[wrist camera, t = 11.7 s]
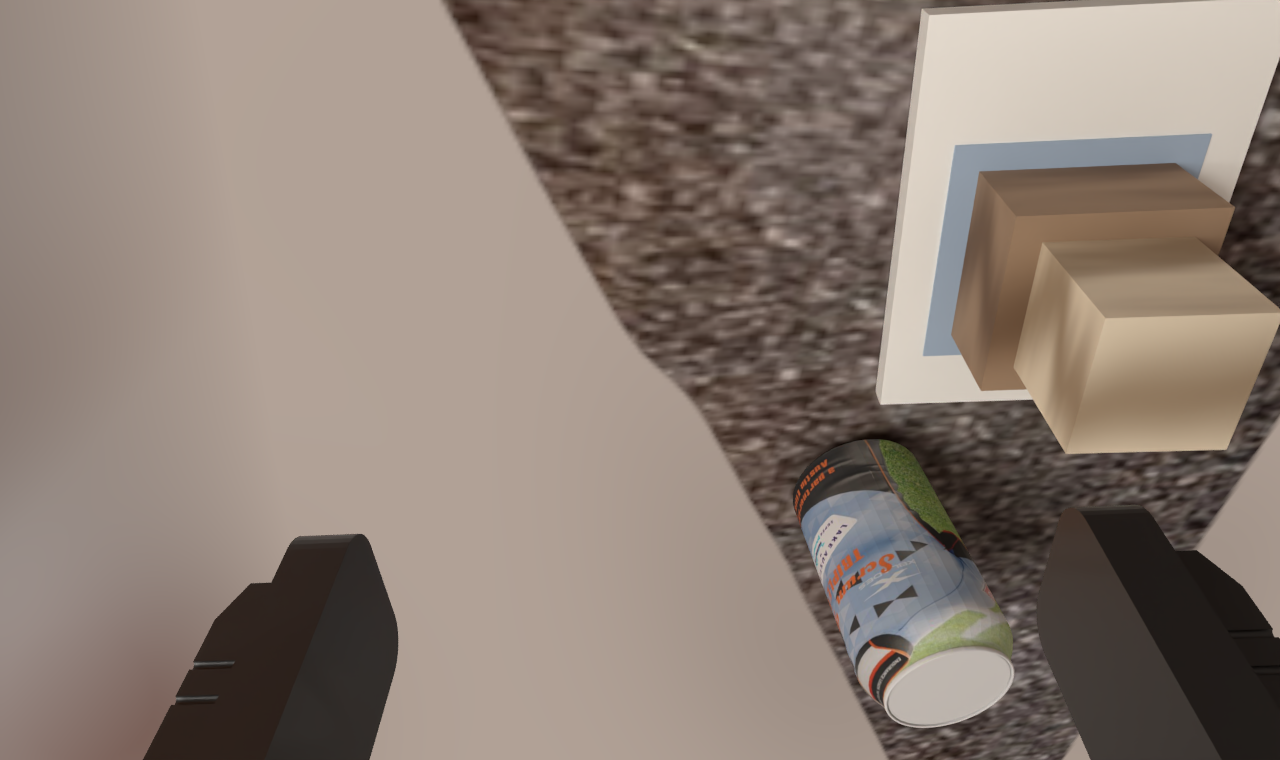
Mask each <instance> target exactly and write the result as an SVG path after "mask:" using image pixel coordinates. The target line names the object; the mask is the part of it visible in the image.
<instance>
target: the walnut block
mask: <svg viewBox="0 0 1280 760" xmlns="http://www.w3.org/2000/svg"><path fill="white" fill-rule="evenodd" d="M1234 210H1235V207H1234V206H1233V205H1231V204H1230V203H1229V202H1227V201H1226V200H1225V199H1223V198H1222V197H1221V196H1219V195H1218V194H1217V193H1215V192H1214V191H1213V190H1211V189H1210V188H1209V187H1207V186H1206V185H1205V184H1203V183H1202V182H1200V181H1199V180H1198V179H1196V178H1195V177H1194V176H1192V175H1191V174H1190V173H1188V172H1187V171H1186V170H1184V169H1183V168H1182V167H1180V166H1179V165H1178V164H1176V163H1159V164H1137V165H1114V166H1091V167H1068V168H1046V169H1023V170H1000V171H979V176H978V182H977V187H976V193H975V199H974V205H973V211H972V216H971V222H970V228H969V234H968V240H967V245H966V251H965V257H964V263H963V269H962V275H961V280H960V286H959V292H958V298H957V304H956V309H955V315H954V321H953V327H952V333H951V336H952V338H953V339H954V341H955V343H956V345H957V347H958V349H959V351H960V353H961V355H962V356H963V358H964V360H965V362H966V364H967V366H968V368H969V370H970V371H971V373H972V375H973V377H974V379H975V381H976V383H977V385H978V387H979V388H980V390H981V391H995V390H1025V389H1026V387H1025V385H1024V384H1023V382H1022V380H1021V379H1020V377H1019V375H1018V374H1017V372H1016V371H1015V369H1014V363H1015V358H1016V354H1017V350H1018V345H1019V341H1020V337H1021V332H1022V328H1023V324H1024V319H1025V315H1026V311H1027V307H1028V302H1029V298H1030V294H1031V289H1032V285H1033V281H1034V276H1035V272H1036V268H1037V263H1038V259H1039V255H1040V251H1041V246H1042V242H1066V241H1095V240H1124V239H1152V238H1181V237H1196V238H1197V239H1199V240H1200V241H1201V242H1202V243H1203V244H1204V245H1206V246H1207V247H1208V248H1209V249H1210V250H1211V251H1213V252H1214V253H1215V254H1216V255H1217V256H1218V255H1219V252H1220V249H1221V247H1222V244H1223V241H1224V238H1225V235H1226V232H1227V229H1228V227H1229V224H1230V221H1231V218H1232V215H1233V212H1234Z"/></svg>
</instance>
